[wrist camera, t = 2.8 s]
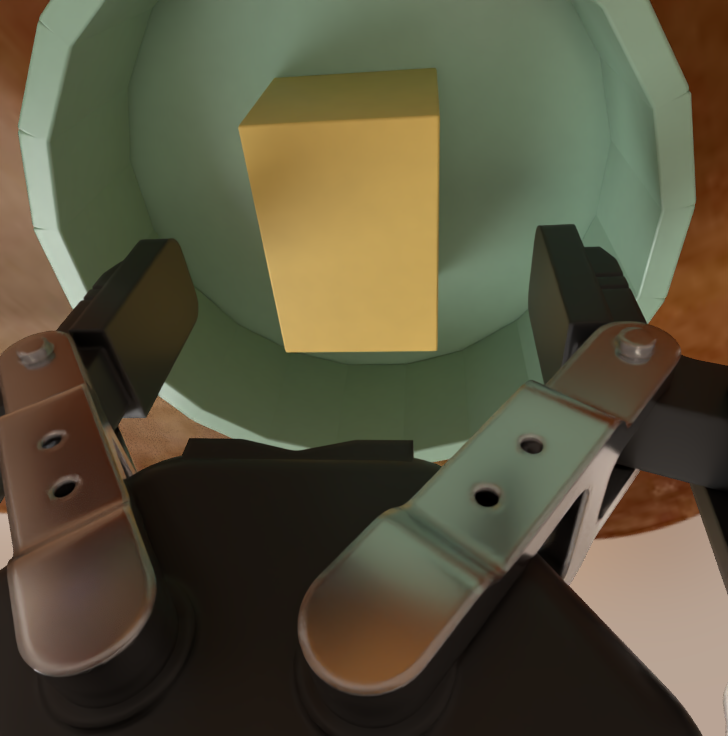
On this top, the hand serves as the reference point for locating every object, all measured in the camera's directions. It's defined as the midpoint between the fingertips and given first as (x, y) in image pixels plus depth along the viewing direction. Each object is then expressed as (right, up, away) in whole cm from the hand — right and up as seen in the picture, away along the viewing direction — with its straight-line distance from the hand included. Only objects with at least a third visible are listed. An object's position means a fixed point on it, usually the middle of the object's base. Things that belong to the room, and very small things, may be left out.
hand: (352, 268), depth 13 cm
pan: (0, +4, +5) cm, 6 cm away
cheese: (0, +3, +4) cm, 5 cm away
